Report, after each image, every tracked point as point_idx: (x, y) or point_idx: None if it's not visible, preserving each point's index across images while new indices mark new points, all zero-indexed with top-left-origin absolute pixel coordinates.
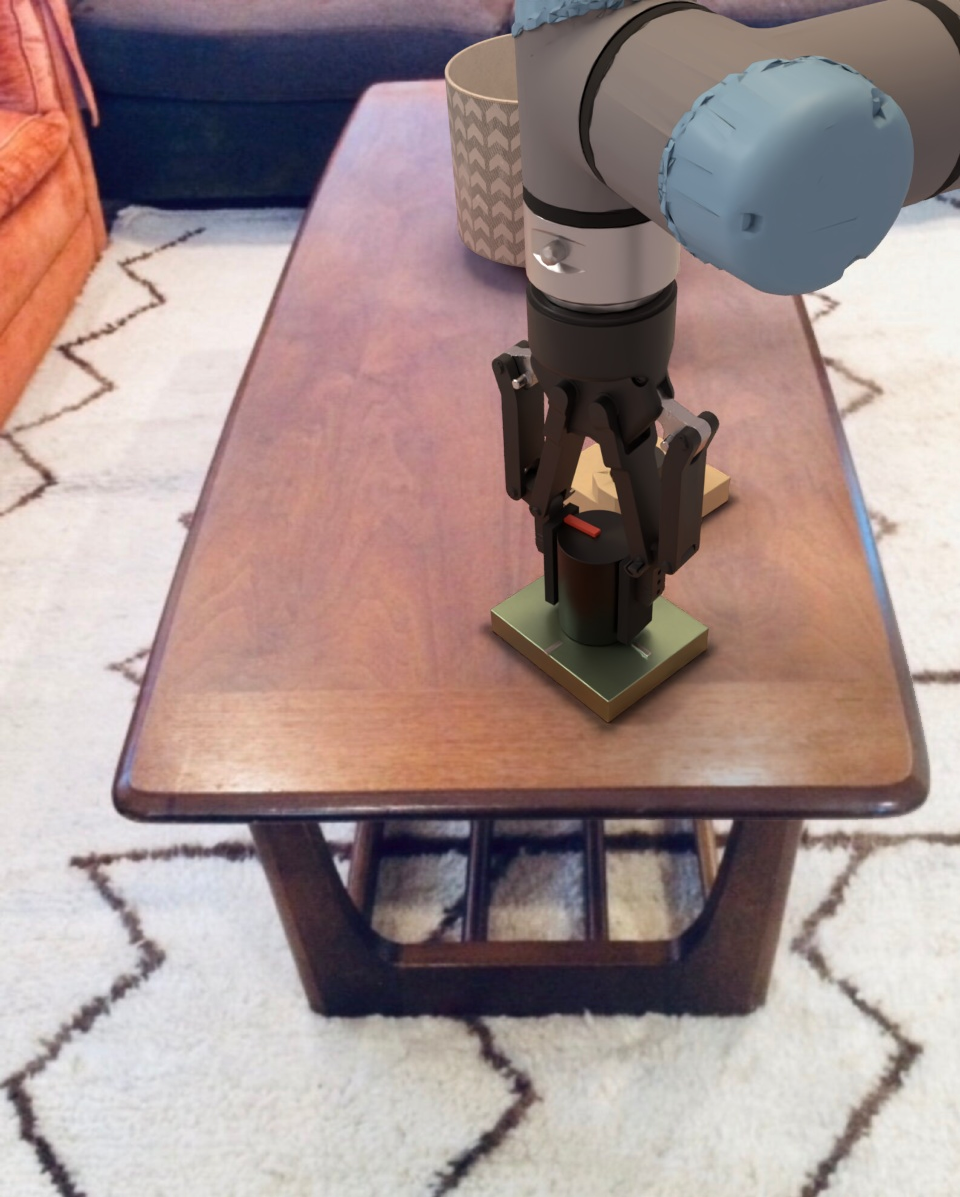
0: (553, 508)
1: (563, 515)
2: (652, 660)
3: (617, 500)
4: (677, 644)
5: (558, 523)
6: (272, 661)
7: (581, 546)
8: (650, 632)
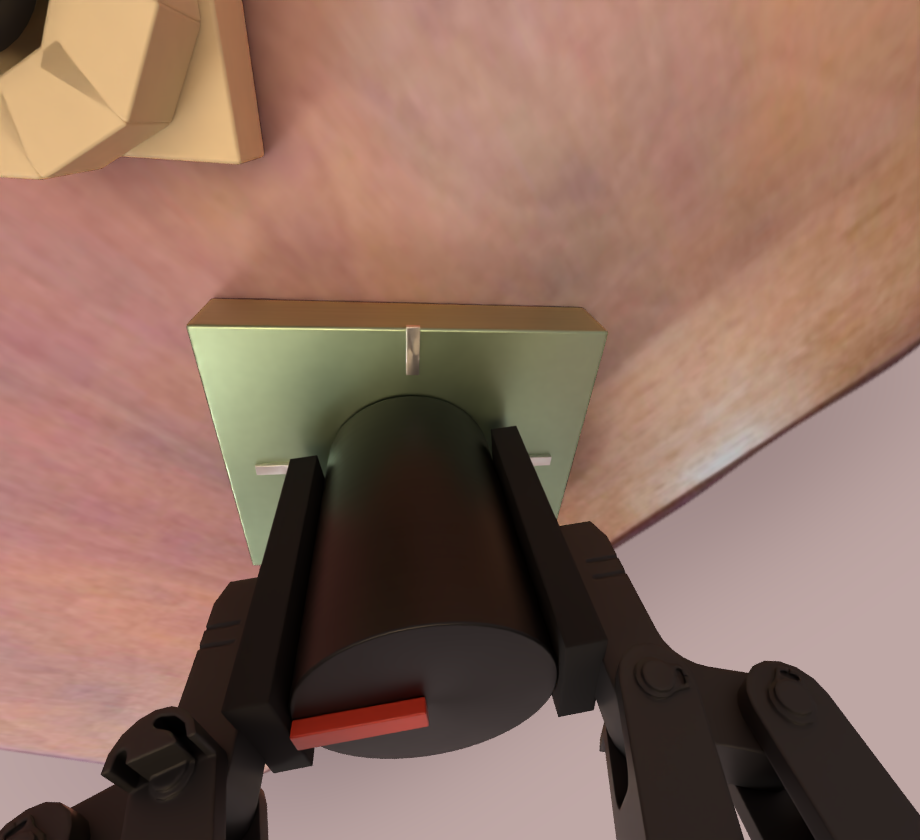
0: (250, 793)
1: (276, 738)
2: (559, 462)
3: (56, 176)
4: (575, 406)
5: (301, 753)
6: (142, 700)
7: (425, 735)
8: (515, 419)
